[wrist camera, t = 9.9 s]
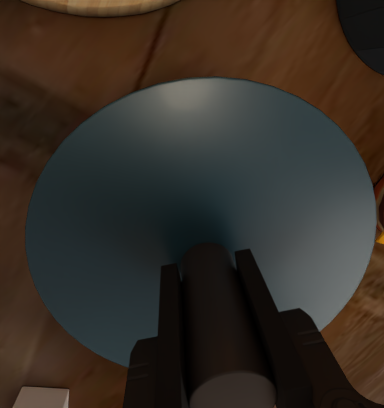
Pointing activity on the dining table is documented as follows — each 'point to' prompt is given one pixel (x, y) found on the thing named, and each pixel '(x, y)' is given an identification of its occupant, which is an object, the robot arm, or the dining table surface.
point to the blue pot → (364, 29)
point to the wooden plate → (101, 6)
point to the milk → (42, 398)
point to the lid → (200, 224)
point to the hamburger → (380, 208)
